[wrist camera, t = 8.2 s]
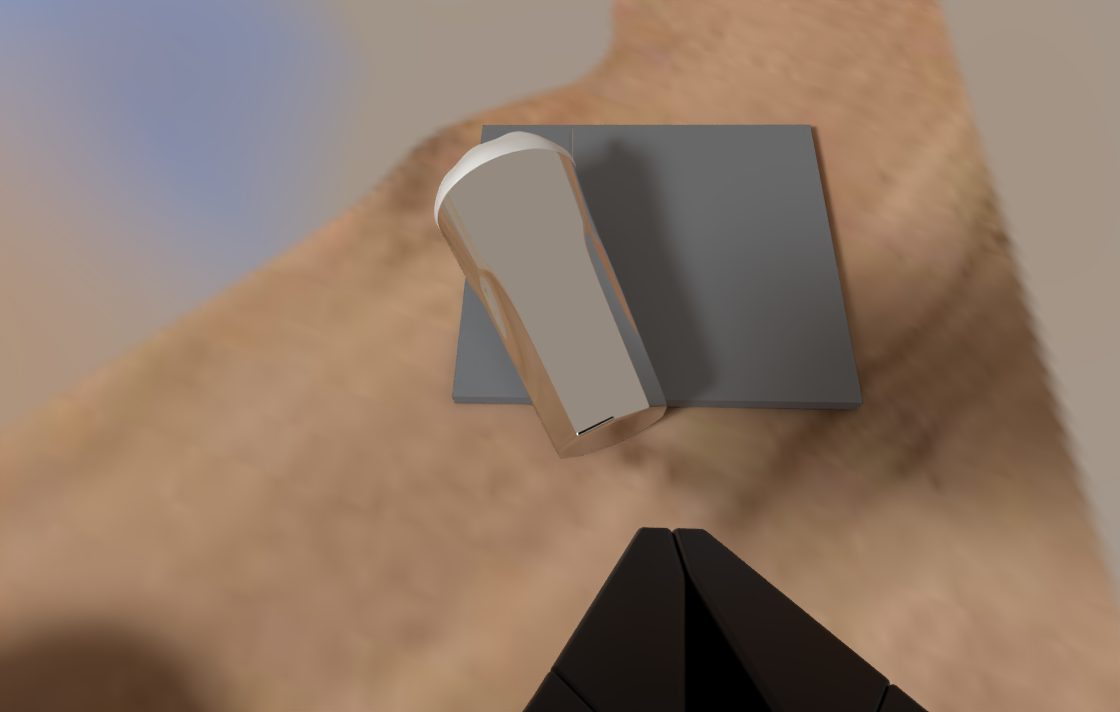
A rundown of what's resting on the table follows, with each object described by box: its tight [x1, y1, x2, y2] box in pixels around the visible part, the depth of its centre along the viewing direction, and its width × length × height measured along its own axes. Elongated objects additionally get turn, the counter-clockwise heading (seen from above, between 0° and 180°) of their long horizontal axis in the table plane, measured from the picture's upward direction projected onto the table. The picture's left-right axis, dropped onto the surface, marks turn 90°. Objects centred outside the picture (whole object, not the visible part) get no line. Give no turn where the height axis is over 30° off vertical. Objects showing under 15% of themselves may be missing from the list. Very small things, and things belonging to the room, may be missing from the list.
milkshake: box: [434, 129, 667, 459], centre depth 20 cm, size 4×5×10 cm
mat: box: [452, 125, 863, 409], centre depth 22 cm, size 11×12×1 cm
